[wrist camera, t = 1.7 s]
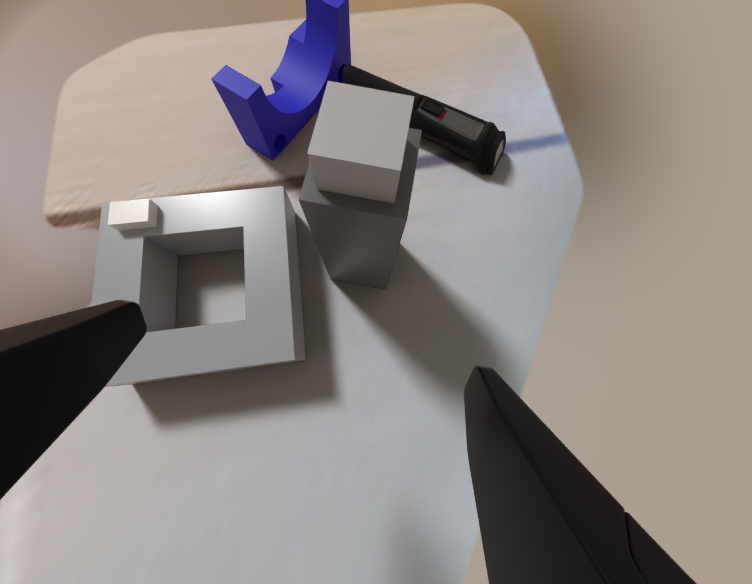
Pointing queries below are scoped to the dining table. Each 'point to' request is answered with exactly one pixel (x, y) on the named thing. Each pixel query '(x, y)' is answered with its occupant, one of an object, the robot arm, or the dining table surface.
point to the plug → (360, 181)
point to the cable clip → (291, 80)
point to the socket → (159, 280)
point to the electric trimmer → (442, 122)
